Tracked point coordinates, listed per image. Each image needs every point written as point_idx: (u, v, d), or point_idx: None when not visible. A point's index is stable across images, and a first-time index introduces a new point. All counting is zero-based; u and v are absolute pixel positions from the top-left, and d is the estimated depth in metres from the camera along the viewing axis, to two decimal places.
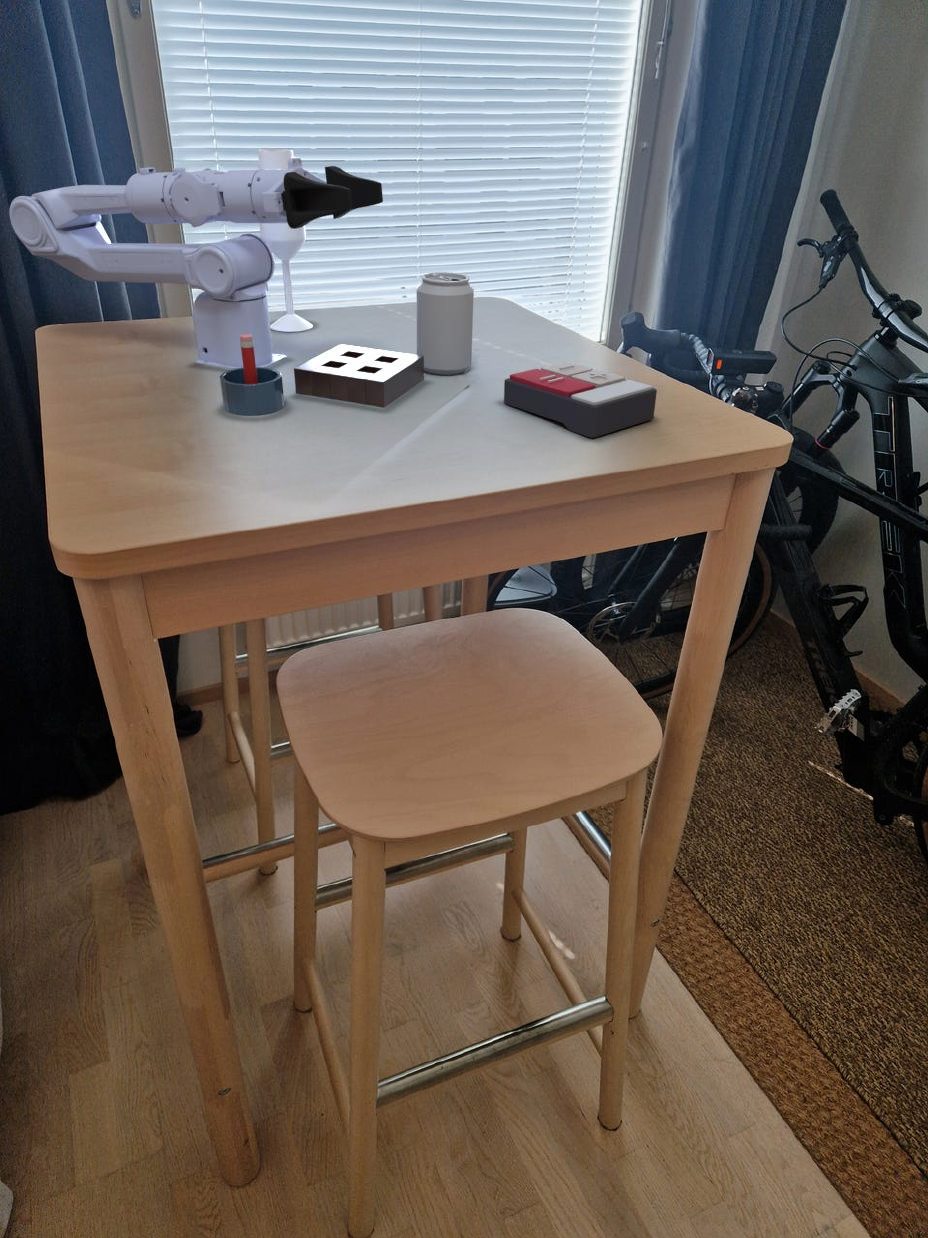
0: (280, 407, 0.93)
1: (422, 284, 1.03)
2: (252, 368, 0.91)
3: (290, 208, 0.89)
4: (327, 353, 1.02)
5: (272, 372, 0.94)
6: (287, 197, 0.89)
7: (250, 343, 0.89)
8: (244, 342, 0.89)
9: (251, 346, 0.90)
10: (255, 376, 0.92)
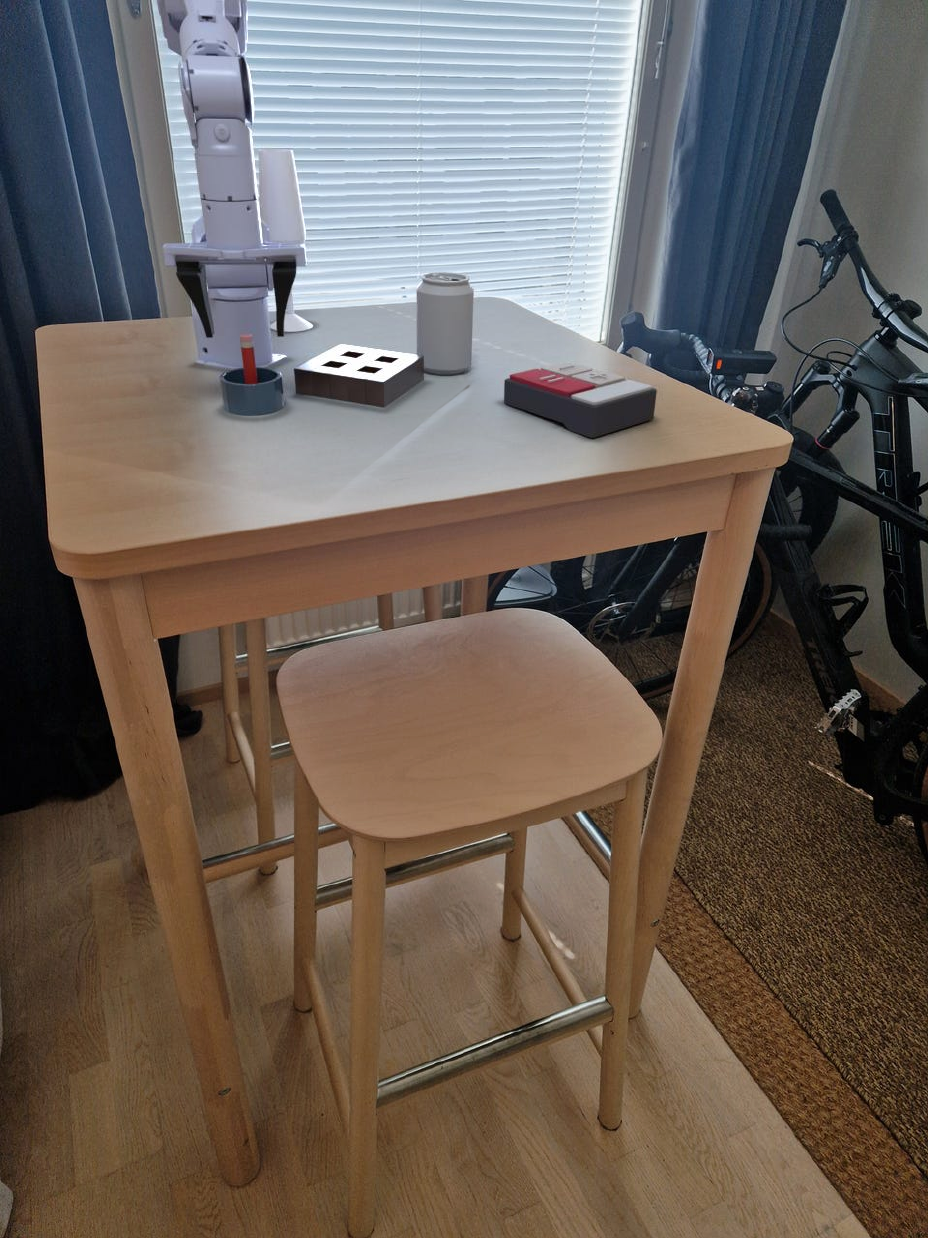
0: (280, 407, 0.93)
1: (422, 284, 1.03)
2: (252, 368, 0.91)
3: None
4: (327, 353, 1.02)
5: (272, 372, 0.94)
6: None
7: (250, 343, 0.89)
8: (244, 342, 0.89)
9: (251, 346, 0.90)
10: (255, 376, 0.92)
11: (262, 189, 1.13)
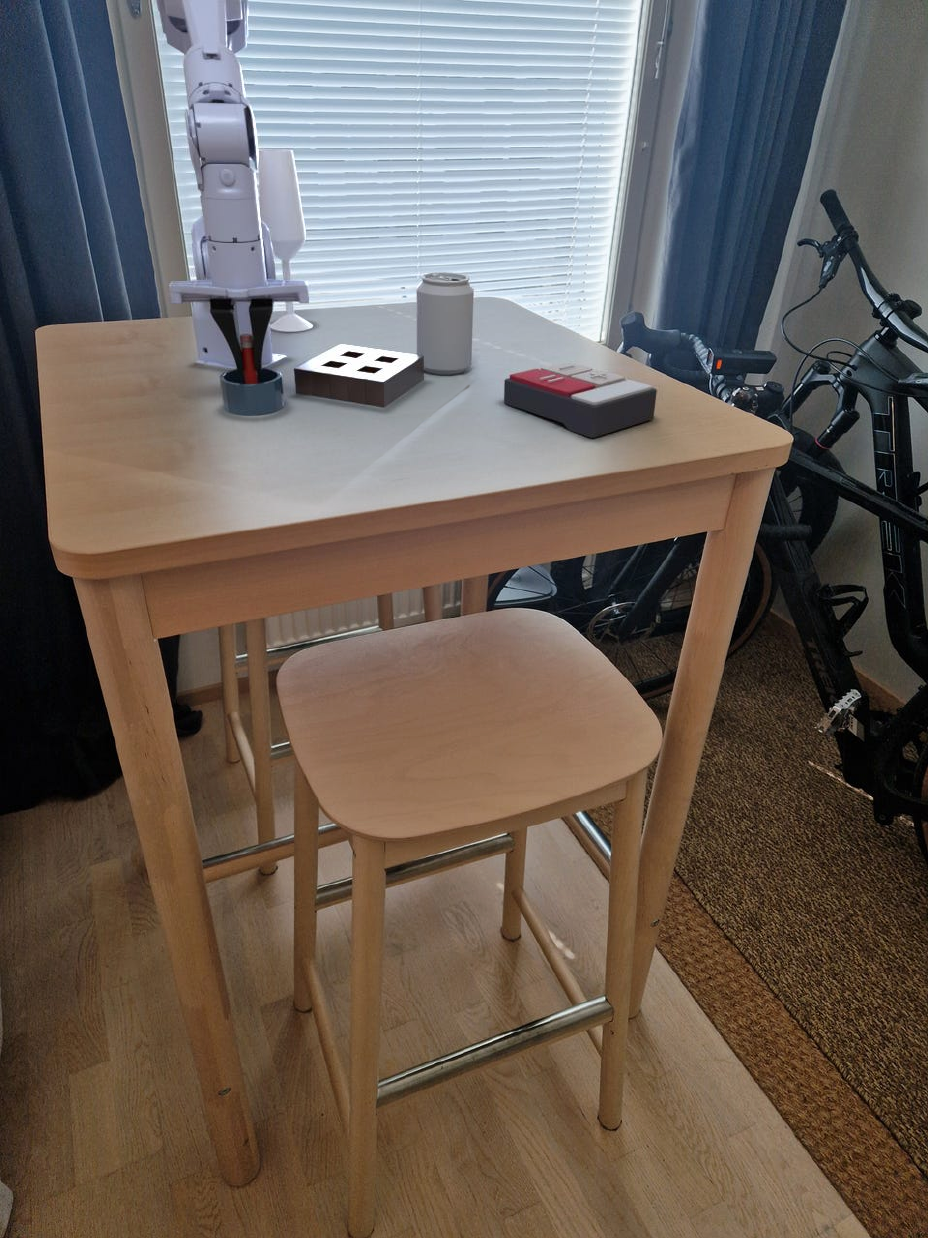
0: (280, 407, 0.93)
1: (422, 284, 1.03)
2: (252, 368, 0.91)
3: None
4: (327, 353, 1.02)
5: (272, 372, 0.94)
6: None
7: (250, 343, 0.89)
8: (244, 342, 0.89)
9: (251, 346, 0.90)
10: (255, 376, 0.92)
11: (262, 189, 1.13)
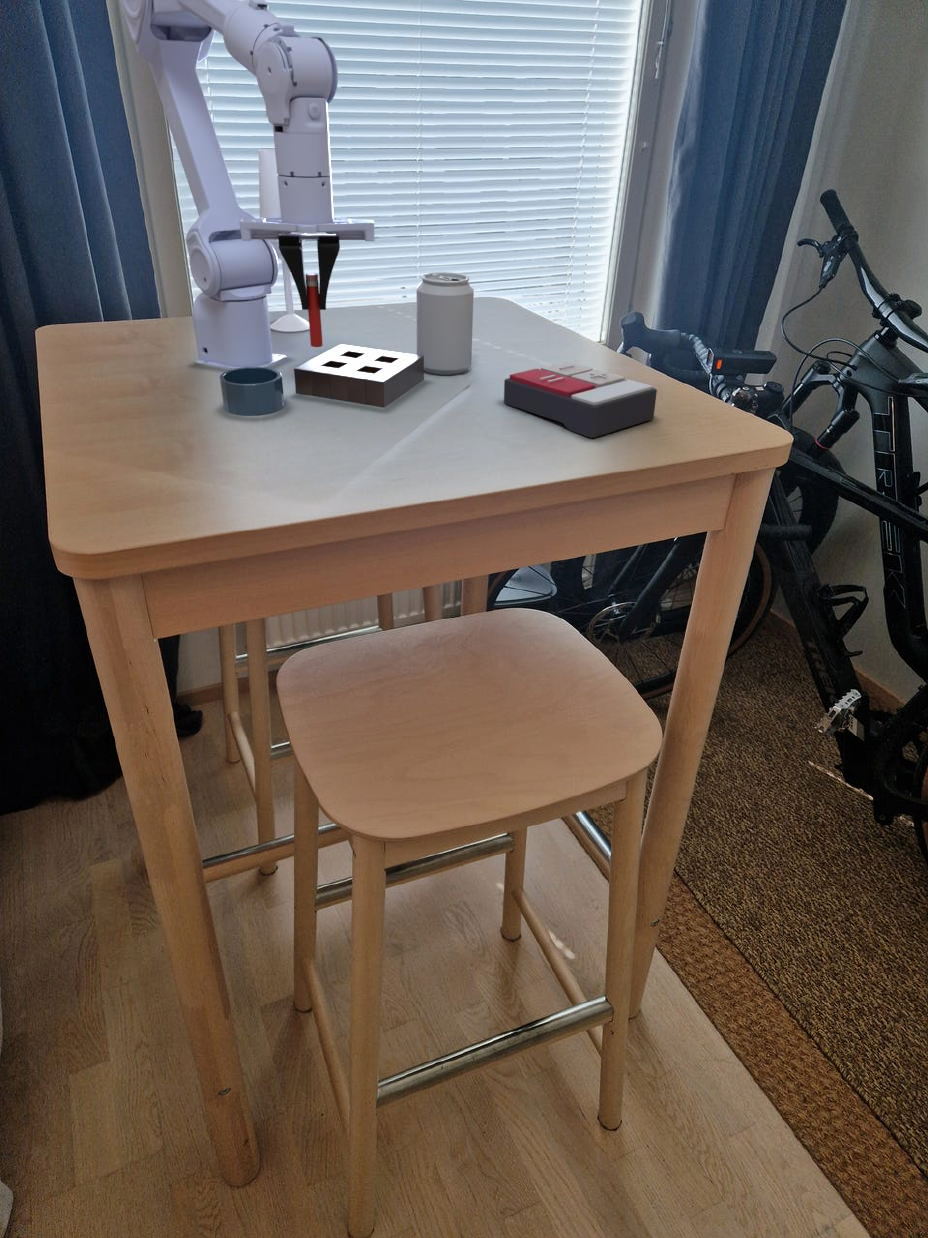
0: (280, 407, 0.93)
1: (422, 284, 1.03)
2: (316, 307, 0.92)
3: None
4: (327, 353, 1.02)
5: (272, 372, 0.94)
6: None
7: (316, 281, 0.91)
8: (310, 280, 0.91)
9: (316, 285, 0.91)
10: (319, 315, 0.93)
11: (262, 189, 1.13)
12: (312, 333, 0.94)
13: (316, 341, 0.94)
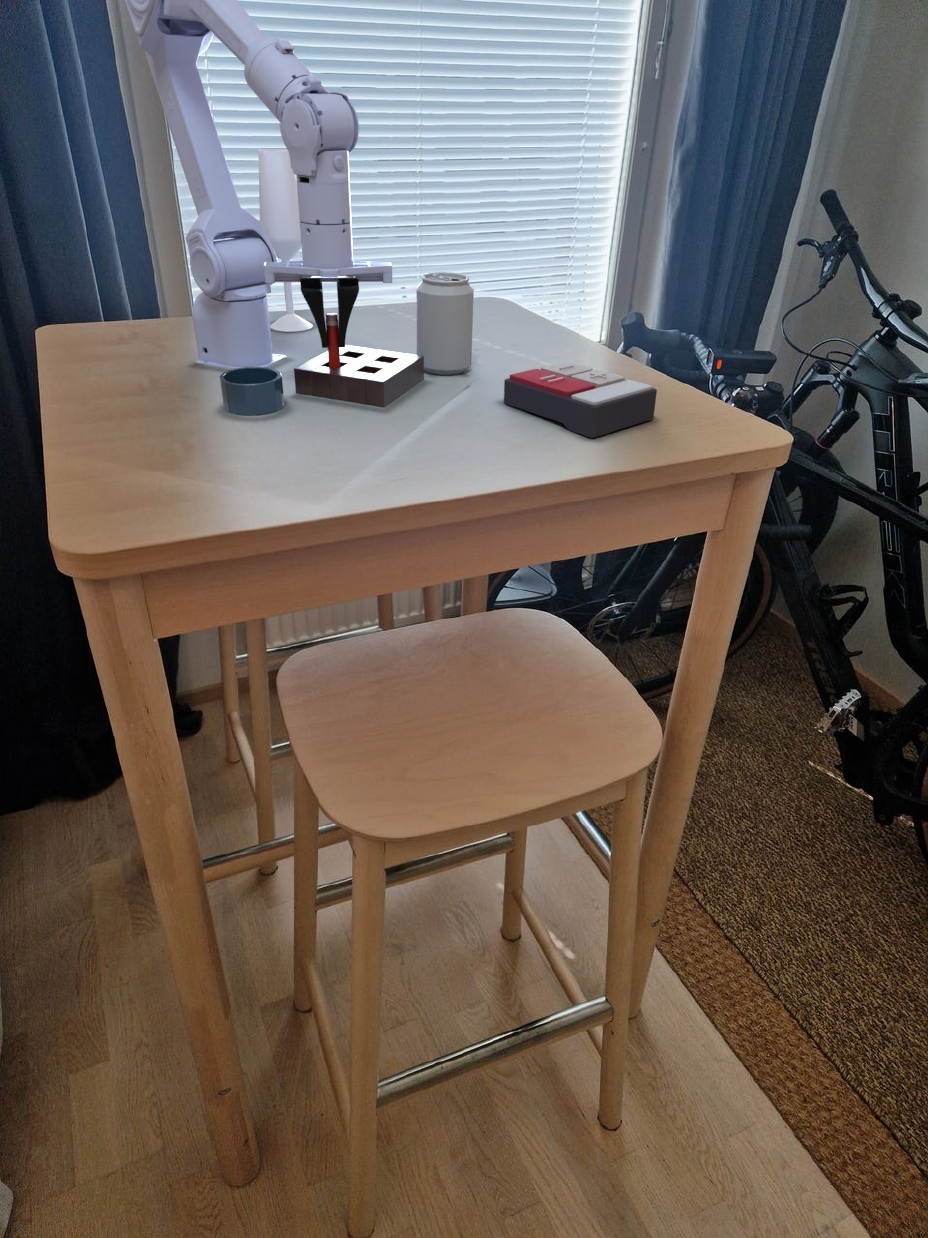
0: (280, 407, 0.93)
1: (422, 284, 1.03)
2: (335, 345, 0.96)
3: None
4: (327, 353, 1.02)
5: (272, 372, 0.94)
6: None
7: (335, 321, 0.95)
8: (330, 320, 0.94)
9: (336, 324, 0.95)
10: (338, 353, 0.97)
11: (262, 189, 1.13)
12: None
13: None
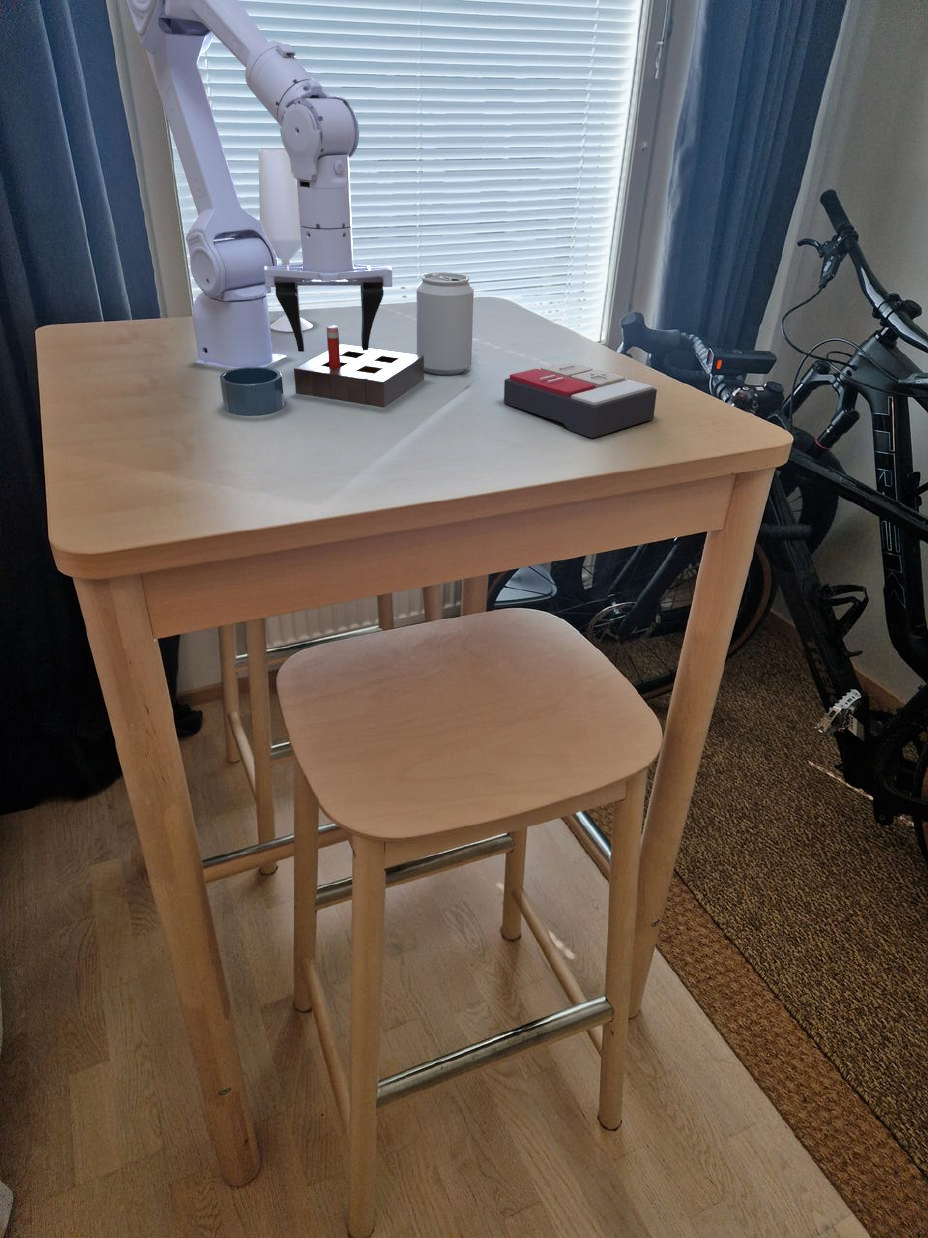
0: (280, 407, 0.93)
1: (422, 284, 1.03)
2: (336, 357, 0.97)
3: None
4: (327, 353, 1.02)
5: (272, 372, 0.94)
6: None
7: (336, 334, 0.96)
8: (331, 333, 0.95)
9: (337, 336, 0.96)
10: (339, 365, 0.98)
11: (262, 189, 1.13)
12: None
13: None
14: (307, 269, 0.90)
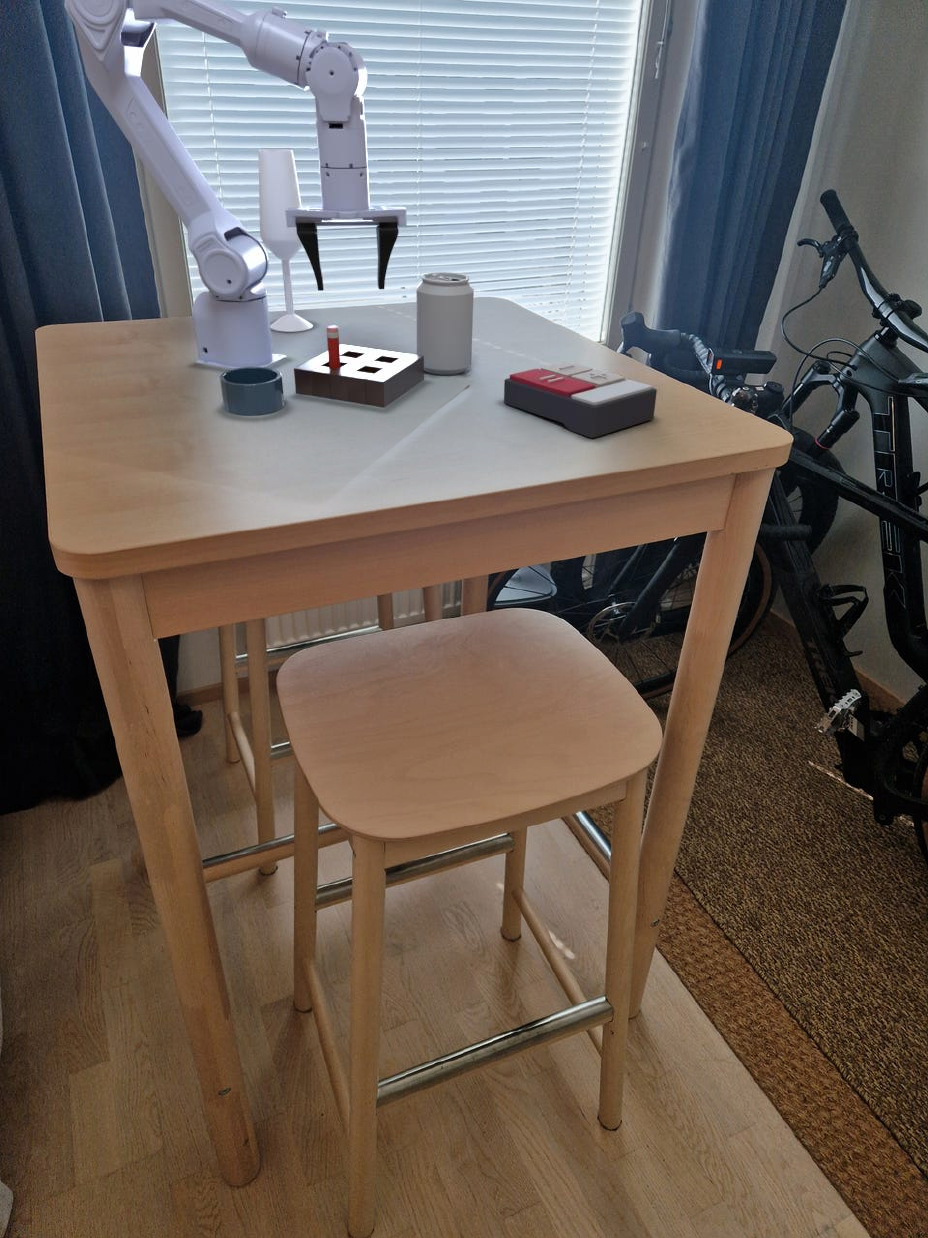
0: (280, 407, 0.93)
1: (422, 284, 1.03)
2: (336, 357, 0.97)
3: None
4: (327, 353, 1.02)
5: (272, 372, 0.94)
6: None
7: (336, 334, 0.96)
8: (331, 333, 0.95)
9: (337, 336, 0.96)
10: (339, 365, 0.98)
11: (262, 189, 1.13)
12: None
13: None
14: (326, 209, 0.95)
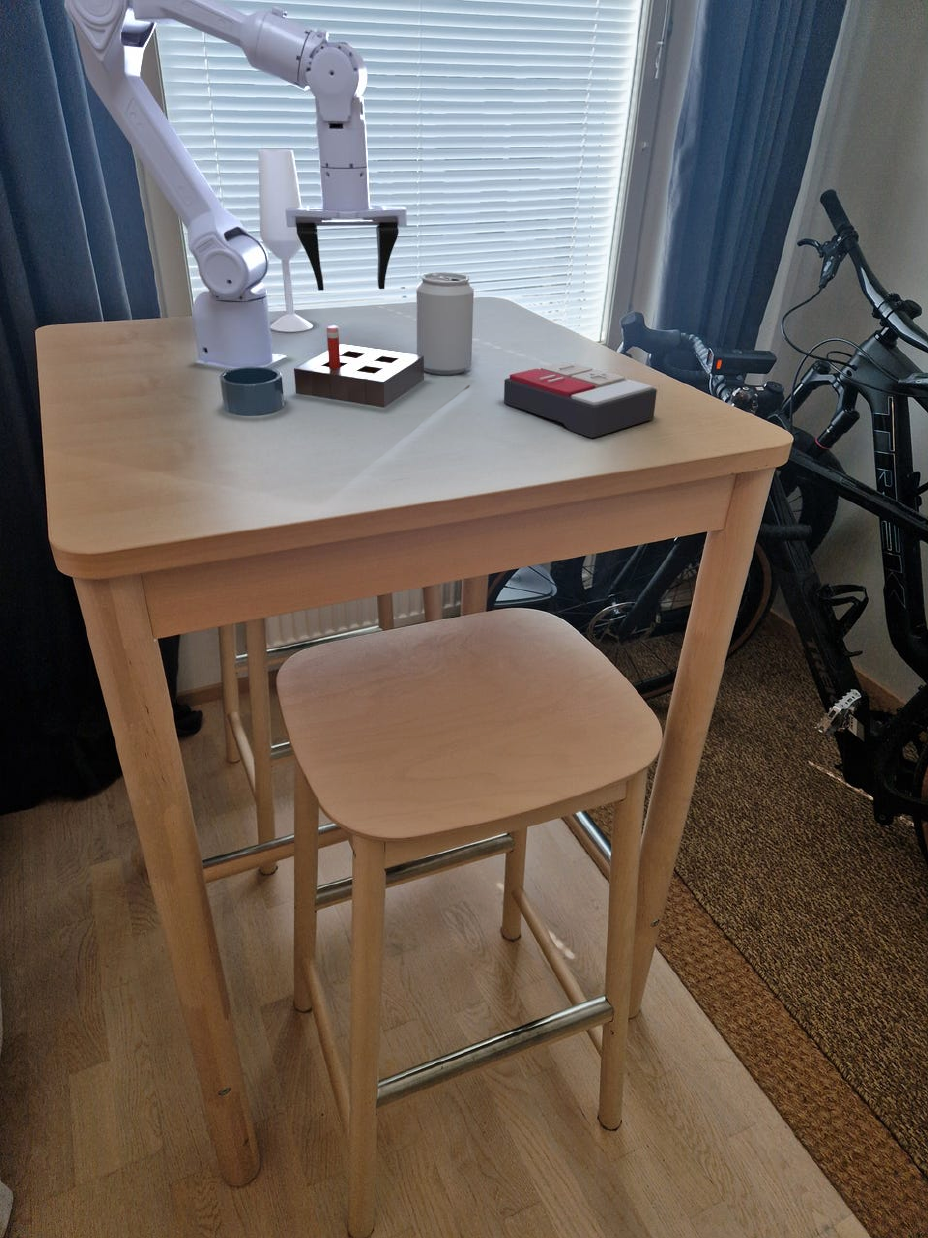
0: (280, 407, 0.93)
1: (422, 284, 1.03)
2: (336, 357, 0.97)
3: None
4: (327, 353, 1.02)
5: (272, 372, 0.94)
6: None
7: (336, 334, 0.96)
8: (331, 333, 0.95)
9: (337, 336, 0.96)
10: (339, 365, 0.98)
11: (262, 189, 1.13)
12: None
13: None
14: (326, 209, 0.95)
